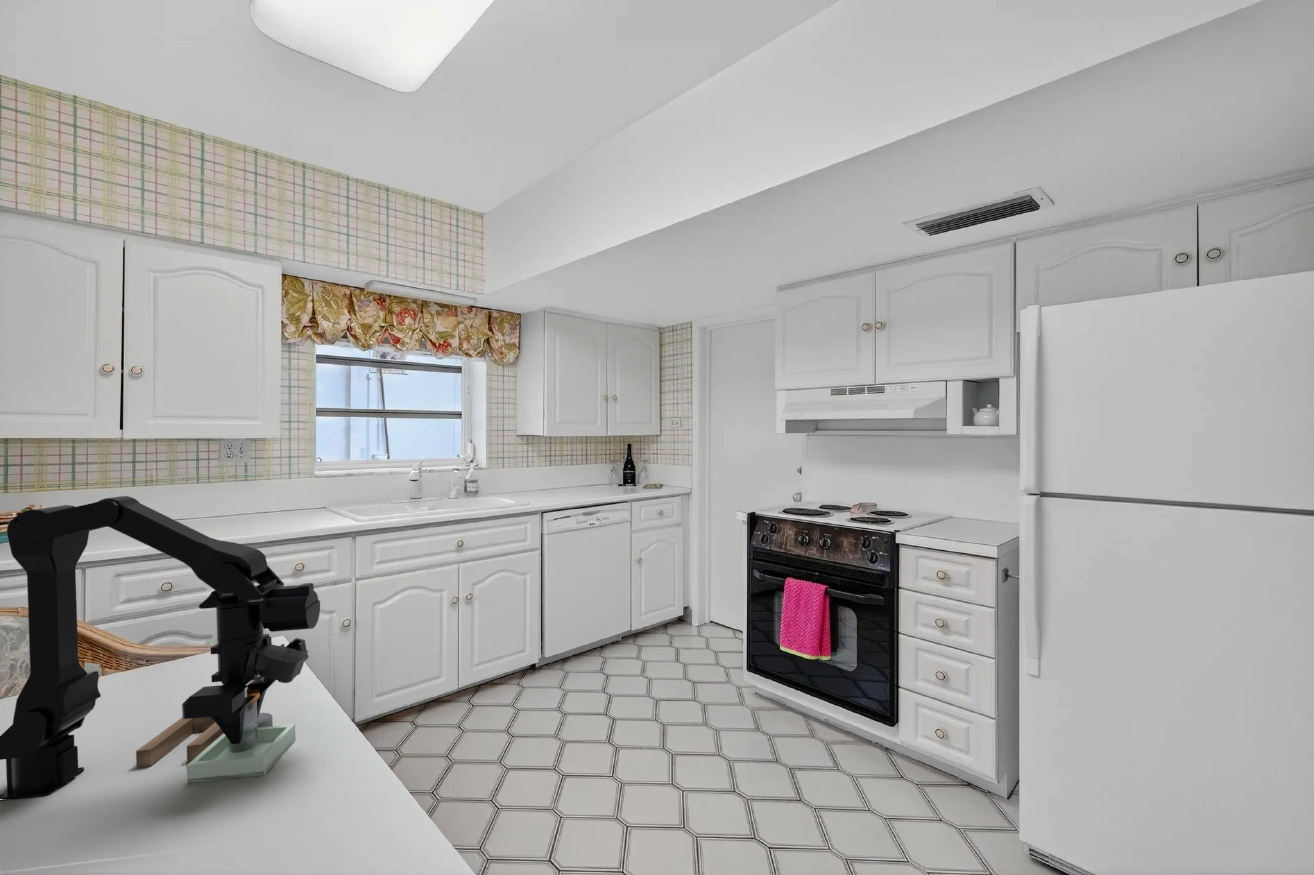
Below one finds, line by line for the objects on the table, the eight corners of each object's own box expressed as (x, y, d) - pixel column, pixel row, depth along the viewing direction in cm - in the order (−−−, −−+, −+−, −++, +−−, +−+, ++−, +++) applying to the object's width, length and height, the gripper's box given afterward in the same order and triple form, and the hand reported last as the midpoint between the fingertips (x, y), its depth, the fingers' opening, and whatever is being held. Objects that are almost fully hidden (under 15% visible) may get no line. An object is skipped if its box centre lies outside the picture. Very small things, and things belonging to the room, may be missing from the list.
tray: (187, 783, 84) (186, 765, 84) (227, 746, 94) (226, 730, 94) (264, 775, 85) (263, 757, 85) (295, 740, 95) (295, 724, 95)
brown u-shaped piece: (136, 767, 88) (136, 750, 88) (186, 729, 100) (186, 714, 100) (201, 760, 90) (201, 744, 90) (243, 723, 101) (242, 709, 101)
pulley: (220, 747, 93) (219, 727, 93) (240, 729, 99) (240, 710, 99) (261, 743, 94) (261, 723, 94) (279, 725, 100) (279, 706, 100)
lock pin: (218, 755, 87) (217, 702, 87) (237, 740, 91) (235, 689, 91) (250, 753, 87) (249, 700, 87) (267, 737, 92) (265, 687, 92)
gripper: (267, 651, 81) (271, 764, 81) (322, 611, 100) (325, 704, 100) (177, 658, 80) (181, 773, 80) (250, 616, 98) (253, 710, 98)
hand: (243, 736), depth 89 cm, fingers closed on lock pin, 4 cm apart
